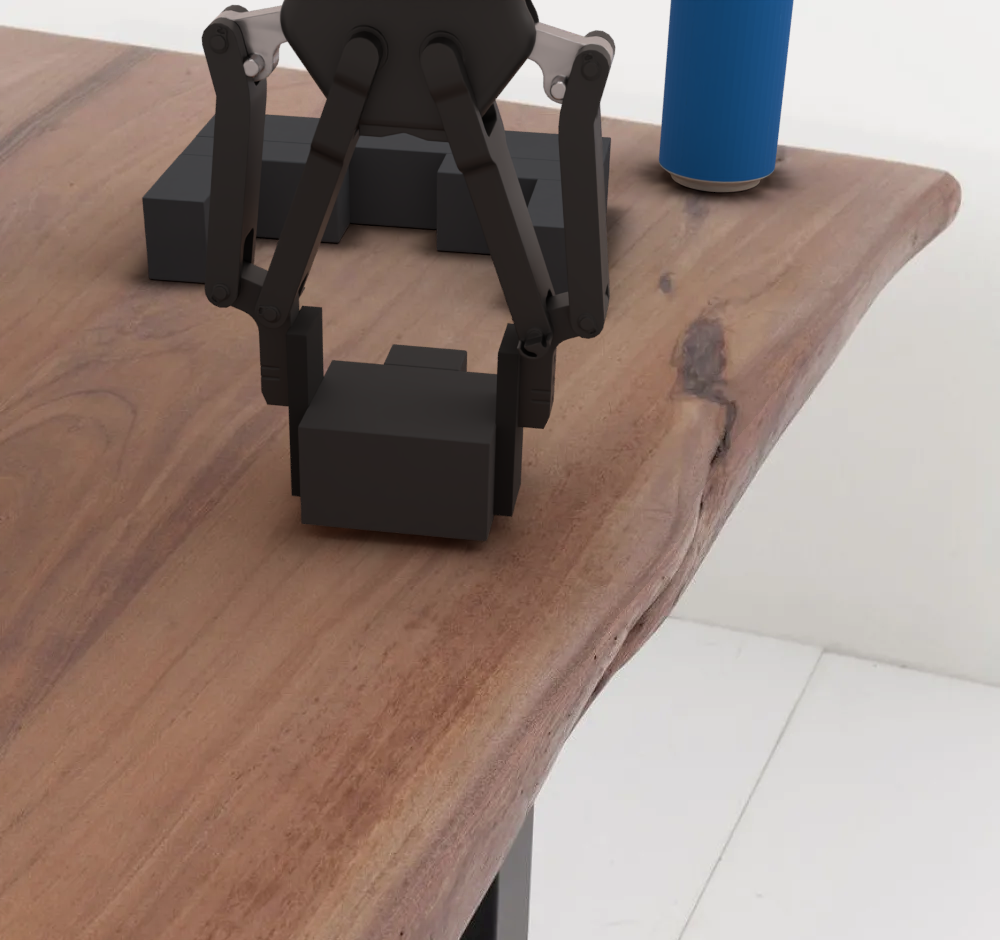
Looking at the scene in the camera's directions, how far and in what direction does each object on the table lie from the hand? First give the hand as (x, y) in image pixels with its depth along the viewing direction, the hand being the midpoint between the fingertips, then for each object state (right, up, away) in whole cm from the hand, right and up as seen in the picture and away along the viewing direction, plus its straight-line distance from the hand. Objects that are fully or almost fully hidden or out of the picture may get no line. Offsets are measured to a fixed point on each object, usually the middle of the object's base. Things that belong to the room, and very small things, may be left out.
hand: (407, 489), depth 72 cm
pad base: (-2, +16, +24) cm, 29 cm away
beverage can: (+16, +22, +33) cm, 43 cm away
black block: (0, 0, +1) cm, 1 cm away
